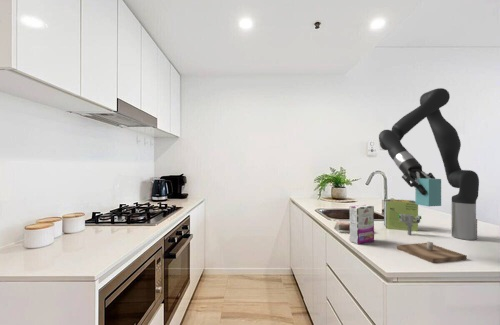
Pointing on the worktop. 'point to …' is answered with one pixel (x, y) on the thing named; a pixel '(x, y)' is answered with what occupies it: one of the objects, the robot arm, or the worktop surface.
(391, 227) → the protein box
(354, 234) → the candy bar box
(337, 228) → the packaged product
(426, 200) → the teal rectangular block
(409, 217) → the mechanical component
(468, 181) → the robot arm
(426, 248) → the plate
